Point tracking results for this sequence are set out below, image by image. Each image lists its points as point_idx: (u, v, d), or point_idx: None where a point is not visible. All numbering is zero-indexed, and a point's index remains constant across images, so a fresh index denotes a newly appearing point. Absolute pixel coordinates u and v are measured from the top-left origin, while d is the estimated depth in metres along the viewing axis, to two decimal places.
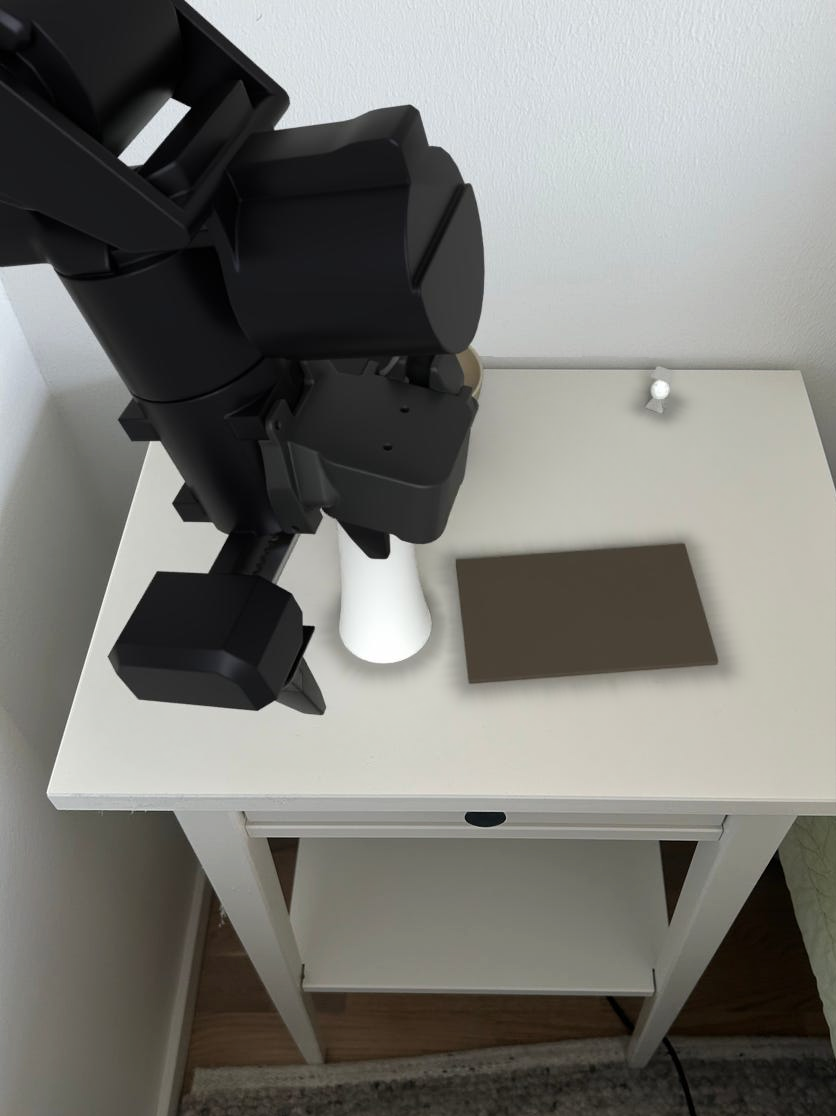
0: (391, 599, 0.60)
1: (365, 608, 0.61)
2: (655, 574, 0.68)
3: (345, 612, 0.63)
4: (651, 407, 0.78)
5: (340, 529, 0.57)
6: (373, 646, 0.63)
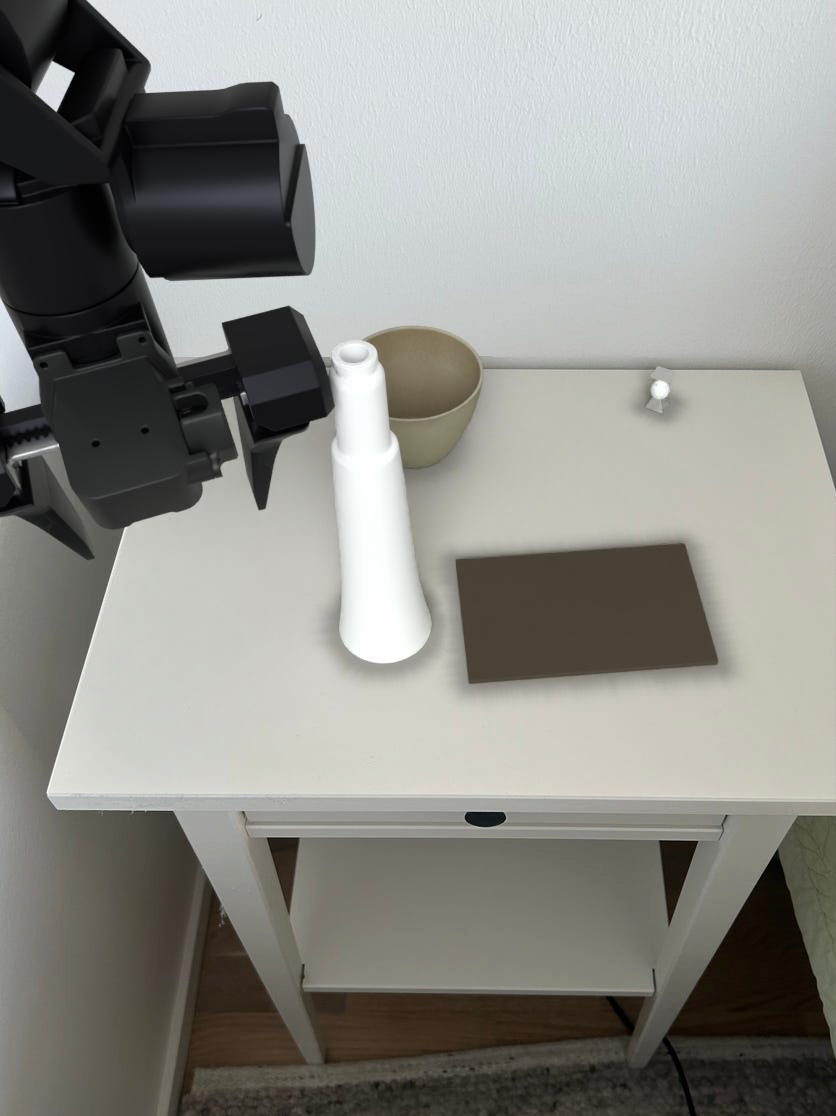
0: (391, 599, 0.60)
1: (365, 608, 0.61)
2: (655, 574, 0.68)
3: (345, 612, 0.63)
4: (651, 407, 0.78)
5: (340, 529, 0.57)
6: (373, 646, 0.63)
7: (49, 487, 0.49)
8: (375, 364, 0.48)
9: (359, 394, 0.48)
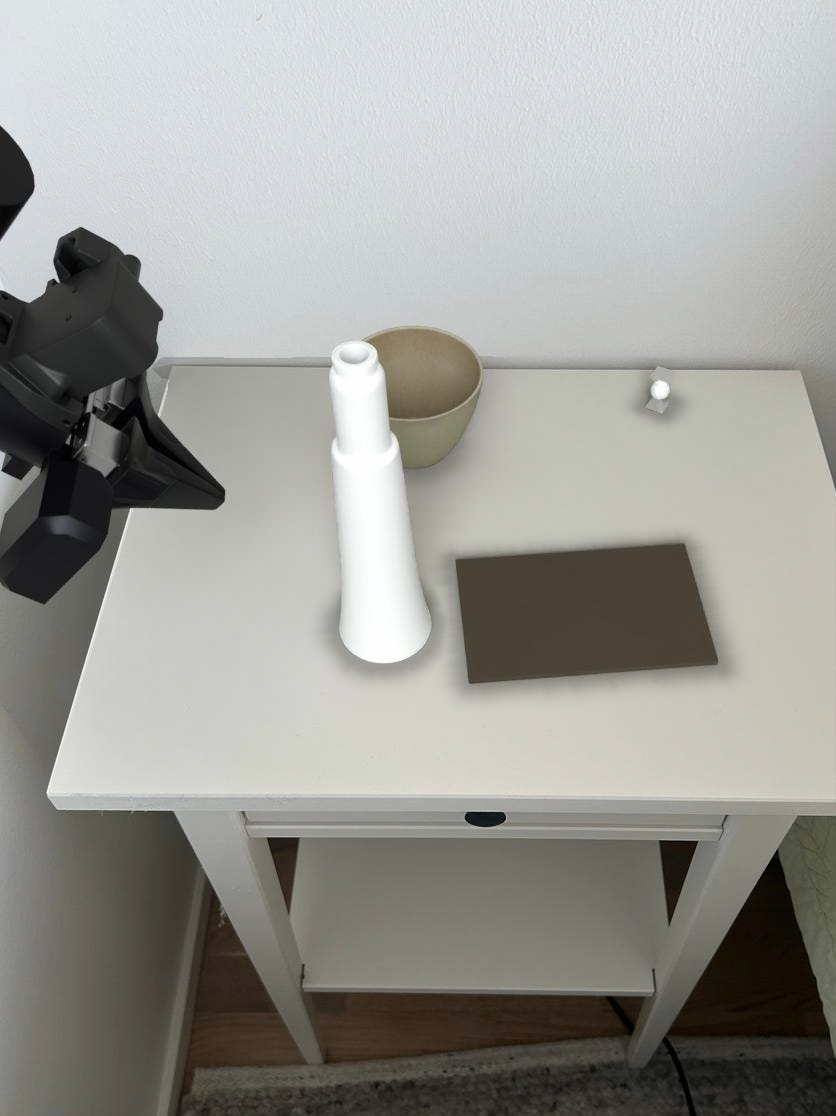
0: (391, 599, 0.60)
1: (365, 608, 0.61)
2: (655, 574, 0.68)
3: (345, 612, 0.63)
4: (651, 407, 0.78)
5: (340, 529, 0.57)
6: (373, 646, 0.63)
7: None
8: (375, 365, 0.48)
9: (359, 395, 0.48)
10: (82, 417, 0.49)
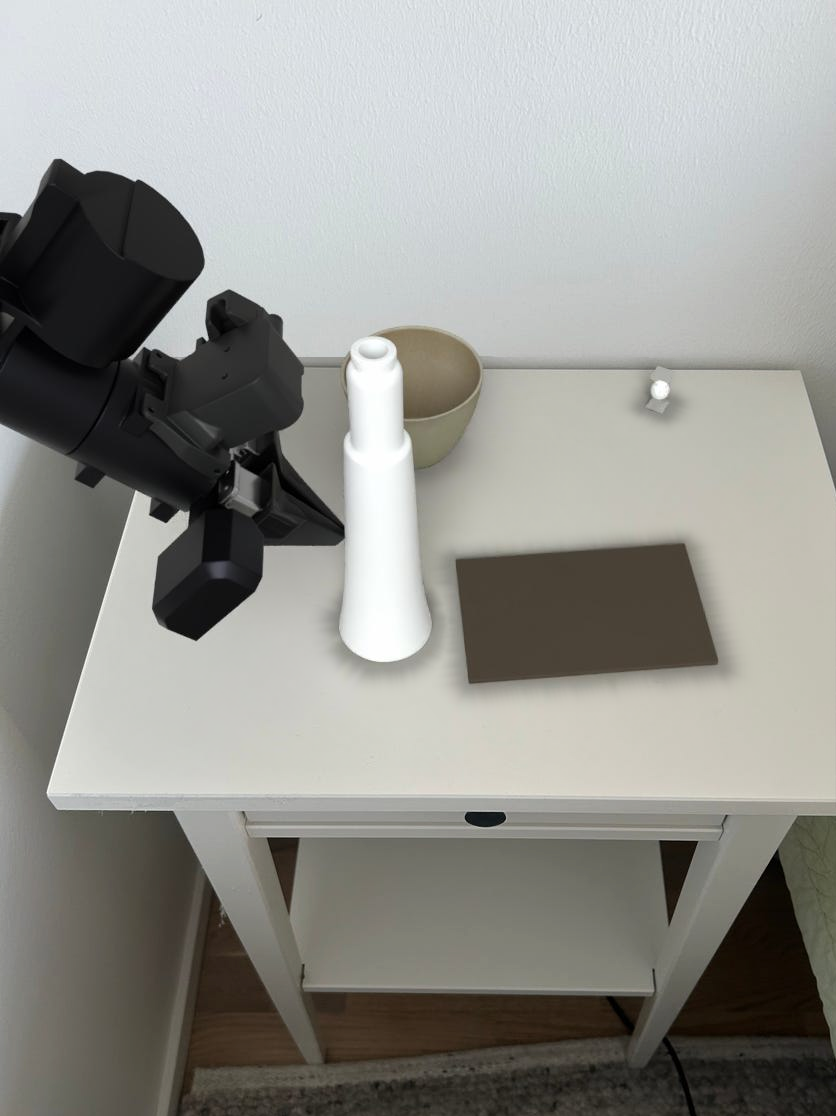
0: (395, 597, 0.60)
1: (368, 606, 0.60)
2: (655, 574, 0.68)
3: (347, 609, 0.62)
4: (651, 407, 0.78)
5: (348, 525, 0.56)
6: (374, 644, 0.63)
7: None
8: (394, 361, 0.48)
9: (377, 391, 0.48)
10: None
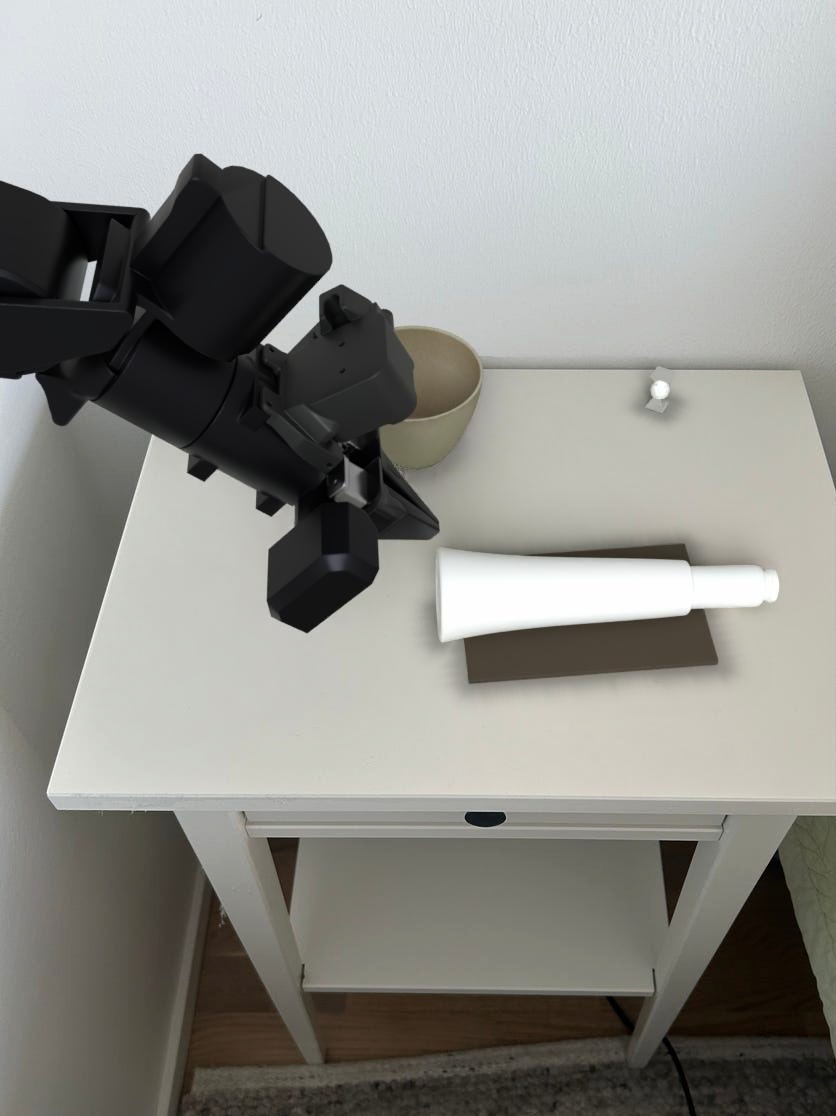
0: (529, 626, 0.63)
1: (519, 610, 0.62)
2: None
3: (491, 583, 0.61)
4: (651, 407, 0.78)
5: (611, 583, 0.63)
6: (467, 620, 0.62)
7: None
8: None
9: (758, 603, 0.65)
10: None
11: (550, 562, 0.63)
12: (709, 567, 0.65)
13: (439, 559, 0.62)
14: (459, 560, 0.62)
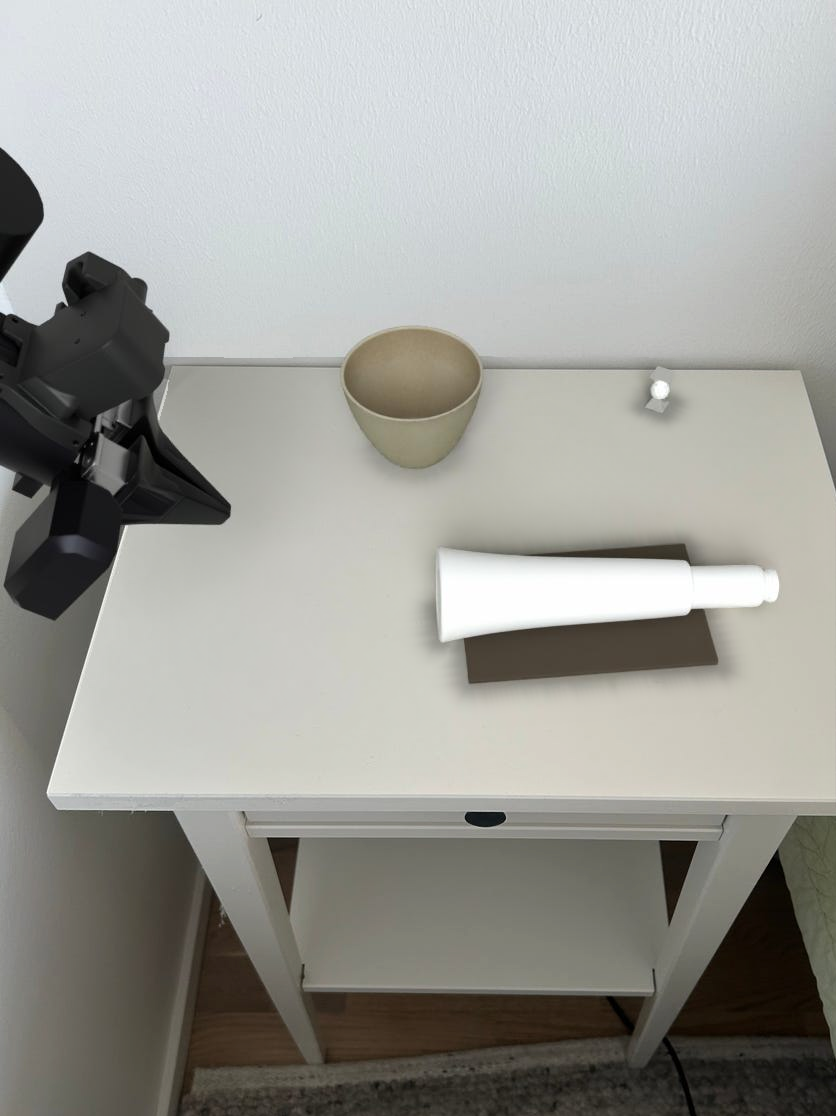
0: (529, 626, 0.63)
1: (519, 610, 0.62)
2: None
3: (491, 583, 0.61)
4: (651, 407, 0.78)
5: (611, 583, 0.63)
6: (467, 620, 0.62)
7: None
8: None
9: (758, 603, 0.65)
10: (90, 436, 0.50)
11: (550, 562, 0.63)
12: (709, 567, 0.65)
13: (439, 559, 0.62)
14: (459, 560, 0.62)
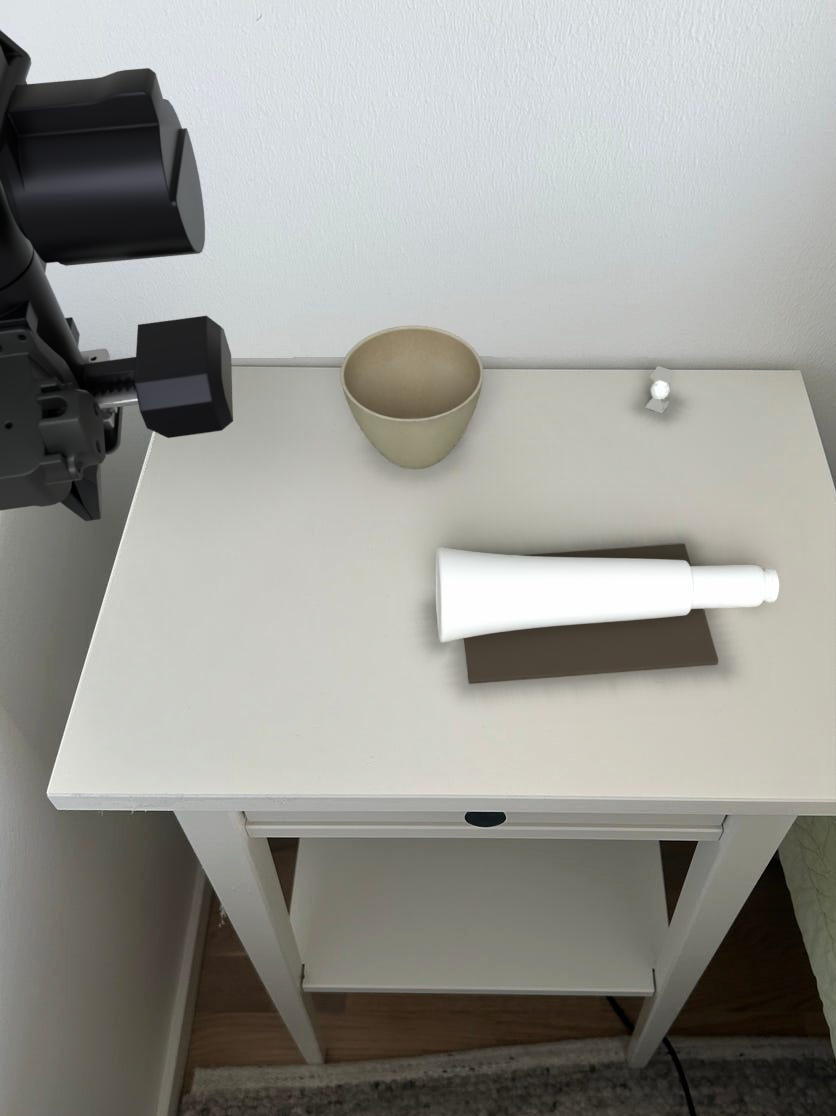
0: (529, 626, 0.63)
1: (519, 610, 0.62)
2: None
3: (491, 583, 0.61)
4: (651, 407, 0.78)
5: (611, 583, 0.63)
6: (467, 620, 0.62)
7: None
8: None
9: (758, 603, 0.65)
10: None
11: (550, 562, 0.63)
12: (709, 567, 0.65)
13: (439, 559, 0.62)
14: (459, 560, 0.62)
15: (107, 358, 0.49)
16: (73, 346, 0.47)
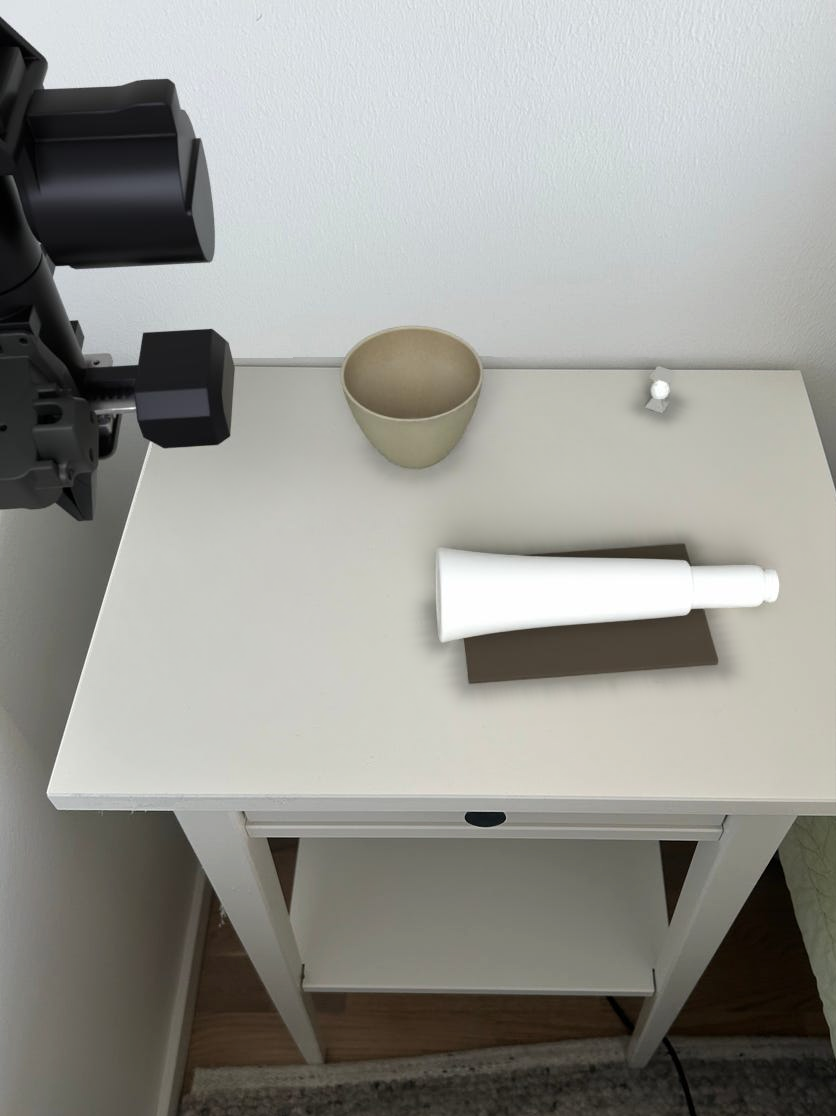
0: (529, 626, 0.63)
1: (519, 610, 0.62)
2: None
3: (491, 583, 0.61)
4: (651, 407, 0.78)
5: (611, 583, 0.63)
6: (467, 620, 0.62)
7: None
8: None
9: (758, 603, 0.65)
10: None
11: (550, 562, 0.63)
12: (709, 567, 0.65)
13: (439, 559, 0.62)
14: (459, 560, 0.62)
15: (110, 363, 0.49)
16: (76, 350, 0.47)
